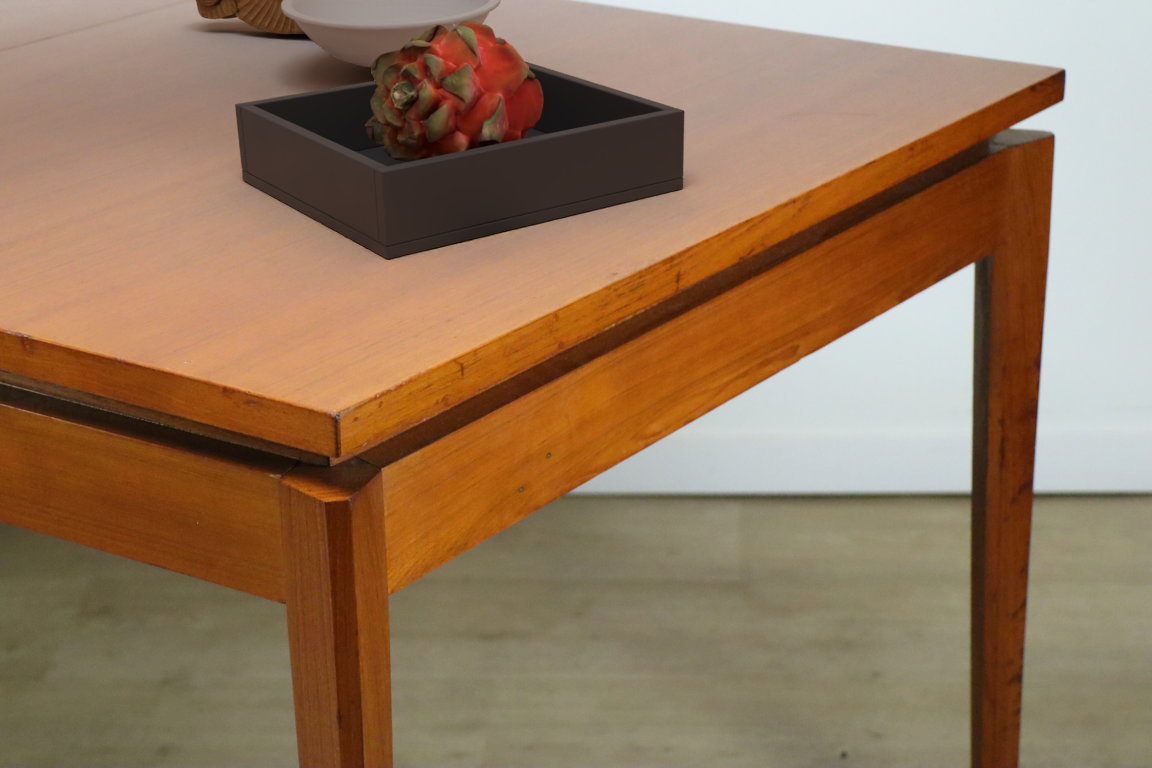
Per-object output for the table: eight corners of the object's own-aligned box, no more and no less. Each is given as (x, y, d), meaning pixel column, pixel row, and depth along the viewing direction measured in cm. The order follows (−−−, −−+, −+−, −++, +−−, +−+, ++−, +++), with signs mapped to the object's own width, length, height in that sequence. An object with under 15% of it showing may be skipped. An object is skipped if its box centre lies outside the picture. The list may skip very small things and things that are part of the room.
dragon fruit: (411, 244, 73) (473, 204, 85) (551, 145, 71) (595, 117, 82) (307, 96, 72) (384, 76, 84) (445, -10, 70) (505, -16, 81)
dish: (302, 48, 110) (296, -23, 107) (501, 43, 110) (499, -27, 108) (272, 109, 94) (264, 27, 91) (505, 103, 94) (502, 22, 92)
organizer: (242, 180, 80) (234, 103, 78) (515, 126, 89) (514, 57, 87) (387, 259, 69) (381, 171, 67) (683, 188, 78) (685, 110, 76)
